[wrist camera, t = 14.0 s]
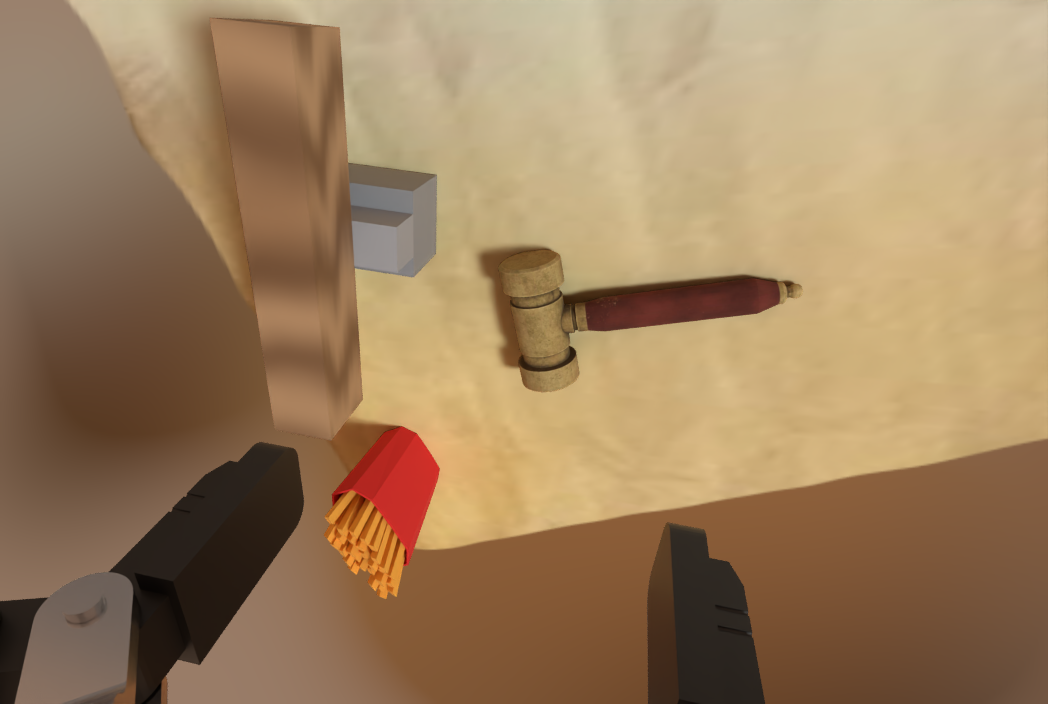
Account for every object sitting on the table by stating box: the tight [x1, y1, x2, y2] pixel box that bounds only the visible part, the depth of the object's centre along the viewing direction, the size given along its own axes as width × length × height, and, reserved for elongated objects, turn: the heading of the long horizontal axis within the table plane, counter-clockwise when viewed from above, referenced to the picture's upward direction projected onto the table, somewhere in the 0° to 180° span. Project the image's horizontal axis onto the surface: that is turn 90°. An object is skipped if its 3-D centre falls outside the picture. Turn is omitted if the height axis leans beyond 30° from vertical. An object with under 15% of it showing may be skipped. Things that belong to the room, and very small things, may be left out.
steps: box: [348, 163, 437, 277], centre depth 40 cm, size 6×10×8 cm, turn 85°
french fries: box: [324, 427, 440, 599], centre depth 50 cm, size 9×4×13 cm, turn 26°
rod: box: [210, 18, 363, 441], centre depth 35 cm, size 24×4×5 cm, turn 175°
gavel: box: [498, 250, 803, 392], centre depth 42 cm, size 21×5×10 cm
